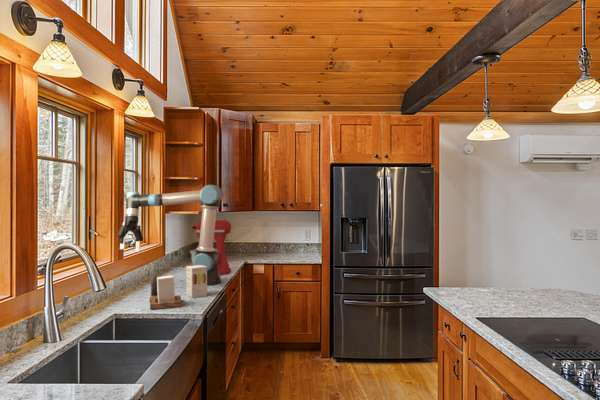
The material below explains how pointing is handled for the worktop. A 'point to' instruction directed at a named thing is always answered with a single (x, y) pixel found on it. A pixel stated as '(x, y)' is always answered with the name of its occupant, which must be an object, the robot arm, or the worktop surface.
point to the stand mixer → (217, 244)
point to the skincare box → (165, 289)
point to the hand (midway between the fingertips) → (130, 250)
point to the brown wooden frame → (154, 297)
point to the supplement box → (196, 281)
